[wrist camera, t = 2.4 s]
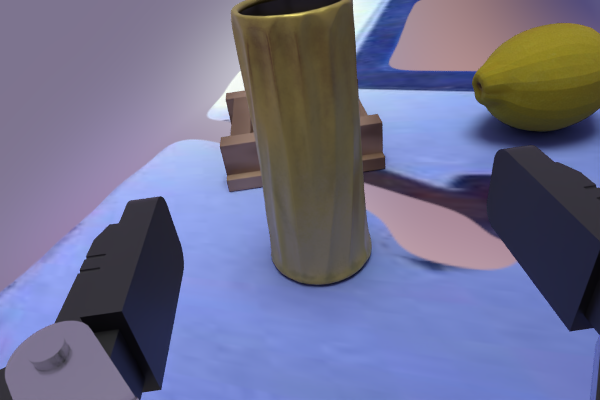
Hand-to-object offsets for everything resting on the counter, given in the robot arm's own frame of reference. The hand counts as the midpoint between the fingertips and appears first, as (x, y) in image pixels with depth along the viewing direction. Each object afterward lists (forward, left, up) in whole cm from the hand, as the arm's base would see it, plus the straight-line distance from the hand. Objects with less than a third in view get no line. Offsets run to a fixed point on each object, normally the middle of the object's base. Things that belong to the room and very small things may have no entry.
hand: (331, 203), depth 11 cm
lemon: (-19, -22, -12) cm, 32 cm away
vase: (0, -11, -12) cm, 17 cm away
